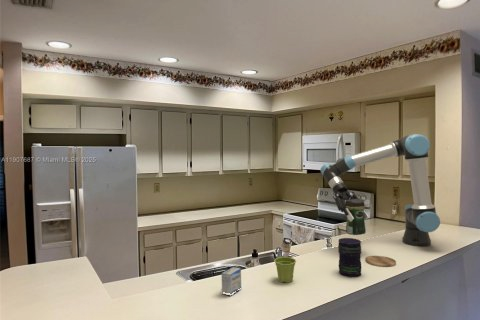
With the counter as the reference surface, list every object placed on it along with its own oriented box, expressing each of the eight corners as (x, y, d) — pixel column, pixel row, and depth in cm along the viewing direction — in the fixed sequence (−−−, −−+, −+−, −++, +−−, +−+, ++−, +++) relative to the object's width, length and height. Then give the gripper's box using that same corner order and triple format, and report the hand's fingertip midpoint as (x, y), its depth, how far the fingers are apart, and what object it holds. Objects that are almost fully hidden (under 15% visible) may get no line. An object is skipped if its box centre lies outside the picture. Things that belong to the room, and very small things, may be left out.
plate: (382, 256, 169) (382, 254, 169) (402, 265, 155) (402, 263, 155) (359, 259, 165) (359, 256, 165) (377, 268, 152) (377, 265, 152)
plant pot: (282, 286, 133) (282, 265, 133) (270, 278, 141) (270, 259, 141) (300, 281, 137) (300, 261, 137) (287, 274, 146) (287, 255, 145)
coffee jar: (358, 231, 177) (357, 197, 176) (368, 234, 169) (367, 199, 169) (343, 232, 174) (342, 198, 174) (352, 236, 166) (351, 200, 166)
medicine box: (231, 297, 124) (230, 274, 124) (221, 294, 126) (221, 272, 126) (241, 289, 131) (241, 268, 130) (232, 287, 133) (232, 266, 133)
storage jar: (345, 268, 153) (344, 236, 153) (365, 273, 146) (364, 240, 146) (334, 273, 146) (334, 241, 146) (355, 279, 139) (354, 245, 139)
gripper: (349, 189, 190) (371, 220, 175) (319, 192, 181) (339, 225, 166) (356, 181, 185) (379, 212, 171) (325, 183, 176) (346, 216, 162)
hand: (359, 218), depth 168 cm, fingers closed on coffee jar, 9 cm apart
